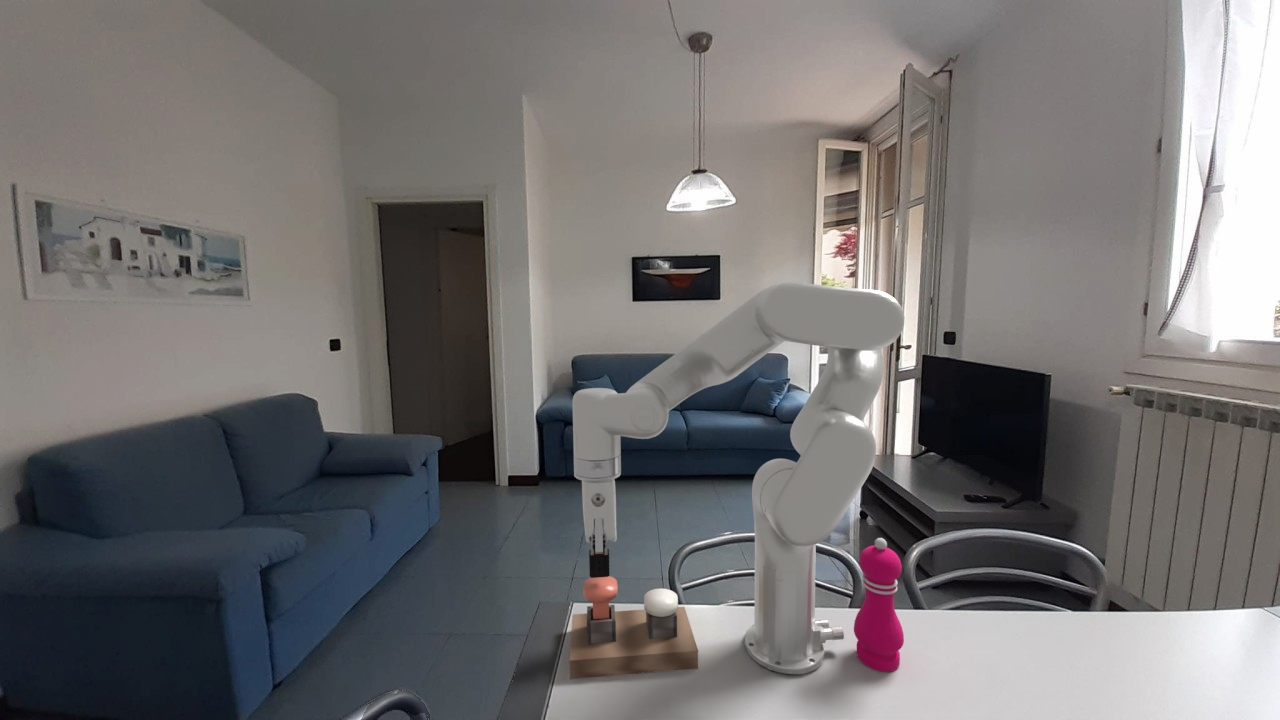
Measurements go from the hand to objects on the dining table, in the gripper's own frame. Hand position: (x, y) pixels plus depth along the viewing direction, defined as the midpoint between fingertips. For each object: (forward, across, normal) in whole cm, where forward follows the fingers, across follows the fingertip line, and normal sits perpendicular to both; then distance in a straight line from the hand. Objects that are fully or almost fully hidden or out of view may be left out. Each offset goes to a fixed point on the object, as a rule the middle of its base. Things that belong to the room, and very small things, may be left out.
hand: (599, 574), depth 82 cm
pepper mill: (+13, -7, -44) cm, 47 cm away
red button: (+7, 0, 0) cm, 7 cm away
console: (+13, 0, -5) cm, 14 cm away
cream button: (+10, 0, -10) cm, 14 cm away
